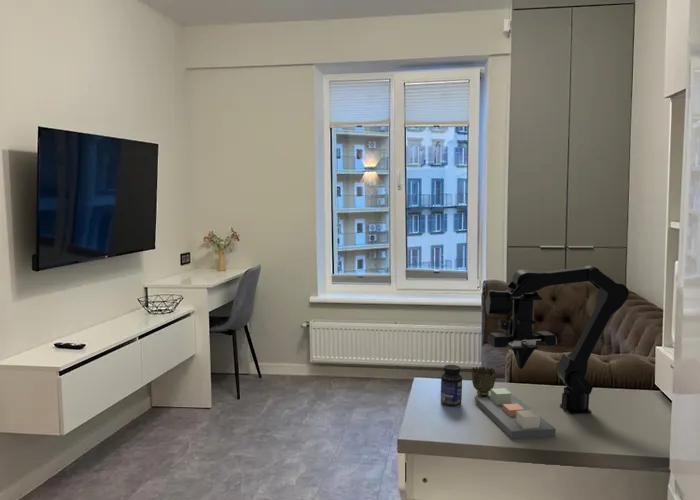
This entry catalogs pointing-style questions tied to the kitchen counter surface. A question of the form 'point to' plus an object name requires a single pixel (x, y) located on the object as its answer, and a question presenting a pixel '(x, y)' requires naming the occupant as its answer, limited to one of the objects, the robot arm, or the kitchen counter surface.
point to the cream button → (527, 419)
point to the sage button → (500, 396)
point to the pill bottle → (451, 386)
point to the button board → (513, 420)
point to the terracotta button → (512, 409)
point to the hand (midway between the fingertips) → (520, 368)
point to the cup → (483, 380)
